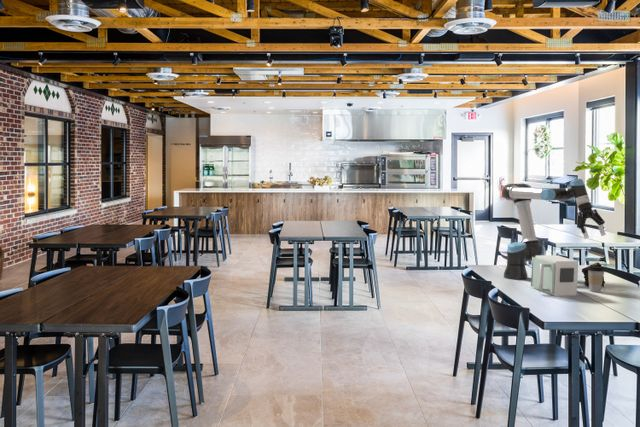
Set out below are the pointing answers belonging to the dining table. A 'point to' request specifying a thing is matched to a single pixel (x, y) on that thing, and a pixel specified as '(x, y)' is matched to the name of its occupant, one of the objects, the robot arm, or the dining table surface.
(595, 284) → the coffee cup
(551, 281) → the side door
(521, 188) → the robot arm
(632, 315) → the dining table surface
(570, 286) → the machine housing
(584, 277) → the dark bumpy flat shape
